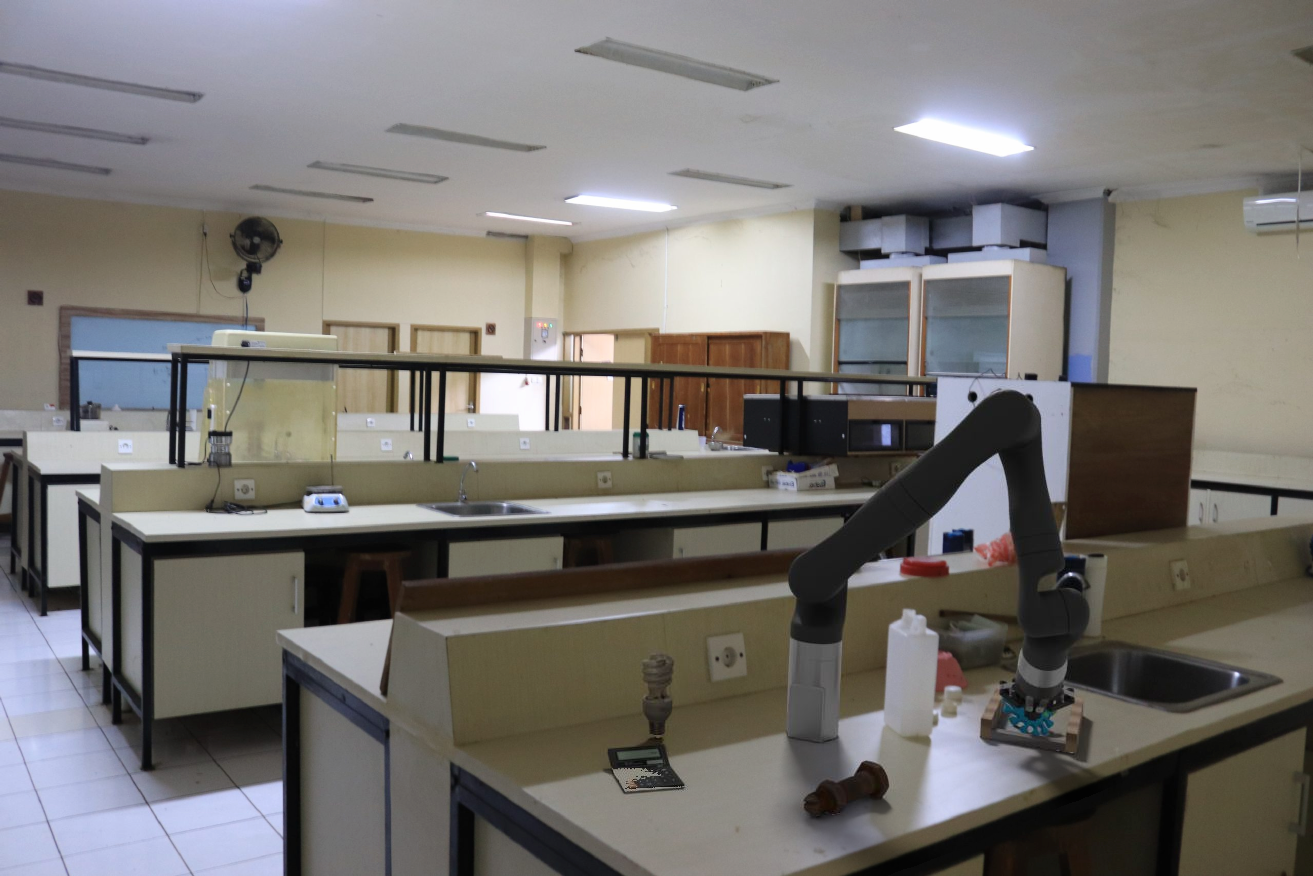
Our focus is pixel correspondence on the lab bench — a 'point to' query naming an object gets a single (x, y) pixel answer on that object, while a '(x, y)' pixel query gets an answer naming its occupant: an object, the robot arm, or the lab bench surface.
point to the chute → (1068, 745)
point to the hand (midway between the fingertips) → (1031, 716)
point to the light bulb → (657, 691)
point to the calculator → (646, 765)
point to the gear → (1034, 724)
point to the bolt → (847, 790)
